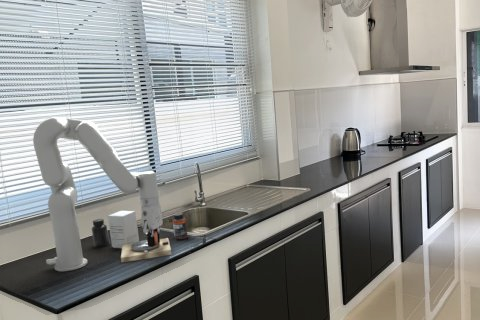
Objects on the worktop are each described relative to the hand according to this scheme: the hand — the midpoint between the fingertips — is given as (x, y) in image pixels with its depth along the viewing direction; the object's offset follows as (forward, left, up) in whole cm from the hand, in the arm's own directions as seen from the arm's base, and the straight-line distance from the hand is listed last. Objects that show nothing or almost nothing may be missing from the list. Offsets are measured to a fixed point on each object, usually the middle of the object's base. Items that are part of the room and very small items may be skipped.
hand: (153, 243), depth 187 cm
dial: (-3, +3, -2) cm, 5 cm away
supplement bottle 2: (+12, +16, -4) cm, 21 cm away
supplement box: (-13, +18, -4) cm, 22 cm away
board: (-4, +3, -4) cm, 6 cm away
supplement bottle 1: (-24, +24, -4) cm, 34 cm away
